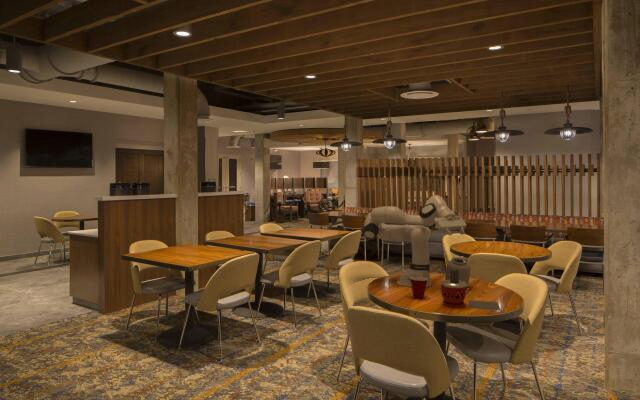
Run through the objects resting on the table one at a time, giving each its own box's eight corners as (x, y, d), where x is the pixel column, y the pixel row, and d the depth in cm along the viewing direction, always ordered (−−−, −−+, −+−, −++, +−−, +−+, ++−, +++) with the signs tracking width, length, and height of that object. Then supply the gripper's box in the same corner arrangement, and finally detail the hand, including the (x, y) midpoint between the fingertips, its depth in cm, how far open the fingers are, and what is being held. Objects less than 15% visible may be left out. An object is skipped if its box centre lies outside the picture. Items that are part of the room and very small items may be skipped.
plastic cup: (430, 296, 272) (430, 277, 271) (424, 301, 262) (425, 280, 262) (412, 294, 277) (413, 275, 277) (406, 298, 268) (407, 278, 267)
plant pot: (438, 302, 259) (438, 281, 259) (460, 302, 260) (460, 281, 260) (445, 309, 246) (446, 287, 246) (469, 308, 247) (469, 287, 247)
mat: (469, 308, 248) (469, 307, 248) (468, 300, 263) (468, 300, 263) (500, 310, 243) (500, 310, 243) (497, 302, 259) (497, 302, 259)
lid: (435, 283, 256) (436, 268, 255) (455, 280, 261) (455, 266, 261) (453, 288, 243) (453, 273, 242) (473, 286, 249) (473, 271, 248)
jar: (475, 291, 286) (476, 251, 284) (452, 291, 284) (453, 251, 283) (463, 284, 304) (463, 246, 303) (441, 284, 303) (442, 247, 302)
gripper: (435, 214, 273) (446, 232, 264) (461, 212, 282) (472, 230, 273) (430, 220, 277) (440, 238, 269) (455, 219, 286) (467, 236, 278)
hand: (457, 234), depth 271 cm, fingers open, 8 cm apart
